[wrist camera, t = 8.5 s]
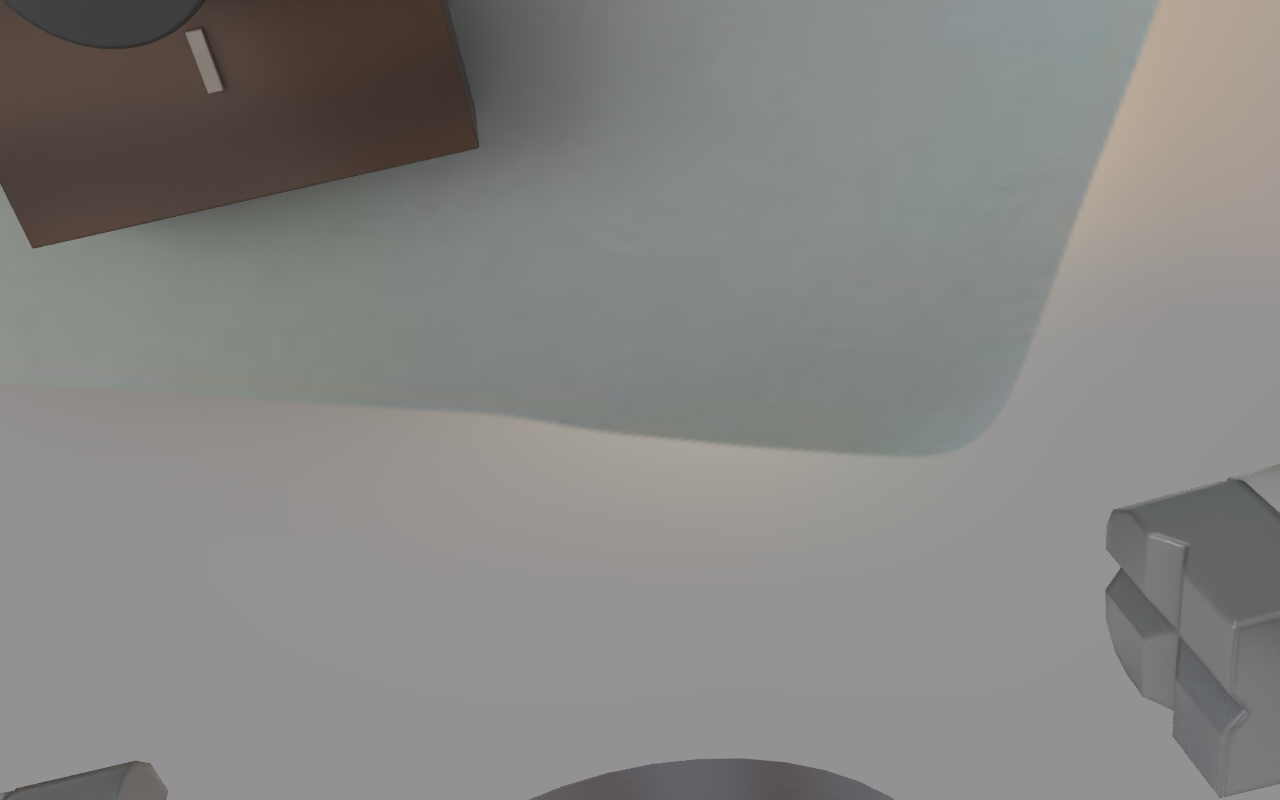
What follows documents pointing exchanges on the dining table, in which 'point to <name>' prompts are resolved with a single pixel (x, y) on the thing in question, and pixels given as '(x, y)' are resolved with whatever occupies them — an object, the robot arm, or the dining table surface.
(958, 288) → the dining table surface
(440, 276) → the dining table surface
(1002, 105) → the dining table surface
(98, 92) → the panel
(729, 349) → the dining table surface
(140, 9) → the dial
